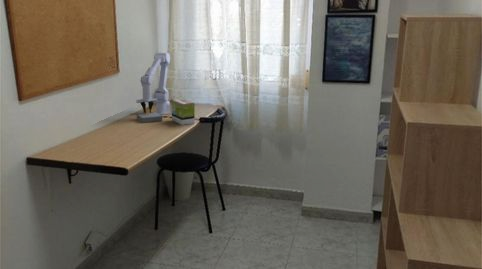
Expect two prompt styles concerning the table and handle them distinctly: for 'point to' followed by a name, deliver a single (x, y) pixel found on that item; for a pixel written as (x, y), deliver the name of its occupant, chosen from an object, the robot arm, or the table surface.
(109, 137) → the table surface
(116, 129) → the table surface
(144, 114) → the carton lid
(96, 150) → the table surface
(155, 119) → the carton
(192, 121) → the tea box
